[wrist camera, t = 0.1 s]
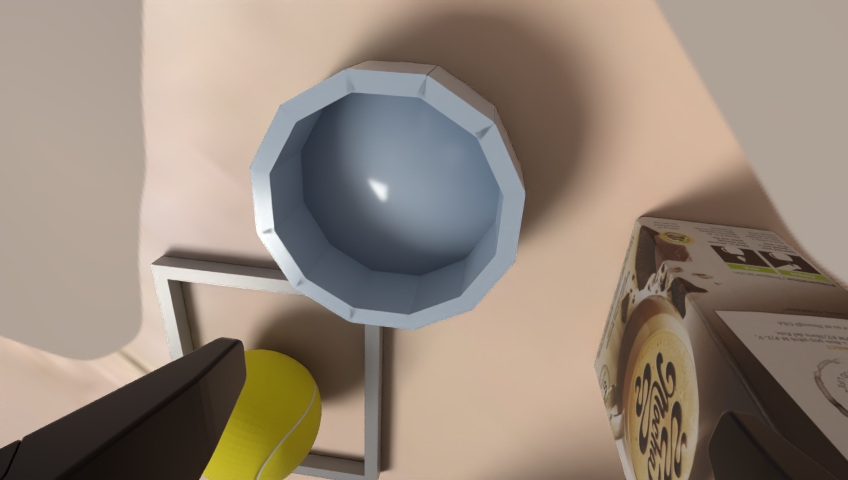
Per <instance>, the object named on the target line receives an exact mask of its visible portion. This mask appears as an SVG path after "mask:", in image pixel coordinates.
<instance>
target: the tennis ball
mask: <svg viewBox="0 0 848 480" xmlns="http://www.w3.org/2000/svg"><path fill="white" fill-rule="evenodd" d="M244 353H245V362H246V370H247V377H246V382H245V385H244V387H243V389H242V392H241V394H240V396H239V398H238V400H237V403H236V405H235V407H234V409H233V412H232V414H231V416H230V418H229V421H228V423H227V425H226V427H225V430H224V432H223V434H222V436H221V439H220V441H219V443H218V445H217V447H216V449H215V452H214V454H213V456H212V458H211V459H210V461H209V463H208V465H207V467H206V469H205V470H204V472H203V474H202V475H204V476H205V477H206V478H208V479H209V480H283V479H284V478H286V477H287V476H288V475H289V474H291V473H292V472H293V471H294V470H295V469H296V468H297V467H298V466H299V465H300V464H301V463H302V461H303V460H304V459H305V457H306V456H307V454H308V453H309V451H310V450H311V448H312V446H313V444H314V442H315V439H316V436H317V434H318V430H319V426H320V421H321V397H320V393H319V389H318V386H317V384H316V382H315V380H314V379H313V377H312V375H311V374H310V372H309V371H308V370H307V368H305V367H304V366H303V365H302V364H301V363H299V362H298V361H296V360H295V359H293V358H291V357H289V356H287V355H285V354H282V353H279V352H276V351H271V350H263V349H254V350H248V351H244Z"/></svg>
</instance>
